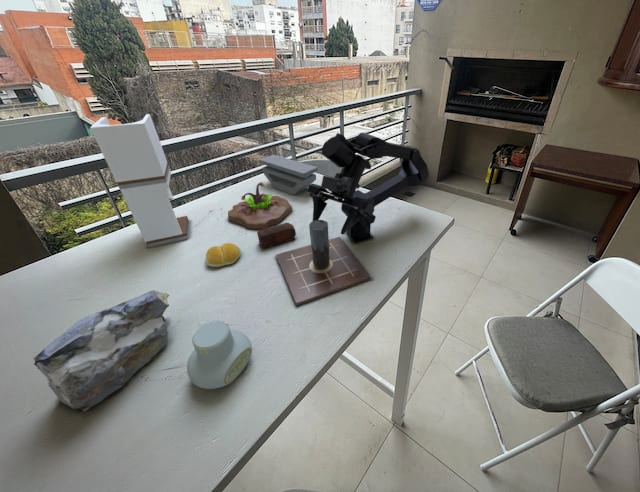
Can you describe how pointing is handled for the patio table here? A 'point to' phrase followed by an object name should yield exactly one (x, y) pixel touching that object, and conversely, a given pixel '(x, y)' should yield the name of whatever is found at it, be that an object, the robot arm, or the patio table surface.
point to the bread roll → (222, 255)
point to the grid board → (320, 272)
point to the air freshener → (217, 355)
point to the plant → (260, 210)
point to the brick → (276, 234)
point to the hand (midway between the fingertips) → (327, 228)
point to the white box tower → (142, 177)
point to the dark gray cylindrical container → (319, 244)
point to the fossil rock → (104, 350)
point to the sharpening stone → (288, 173)
